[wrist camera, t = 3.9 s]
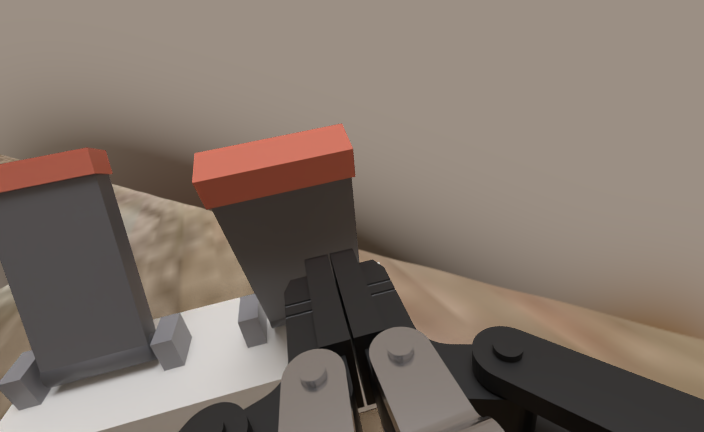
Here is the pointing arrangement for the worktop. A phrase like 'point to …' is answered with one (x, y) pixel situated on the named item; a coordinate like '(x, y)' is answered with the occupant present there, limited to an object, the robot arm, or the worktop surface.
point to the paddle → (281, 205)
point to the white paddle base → (160, 376)
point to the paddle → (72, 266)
